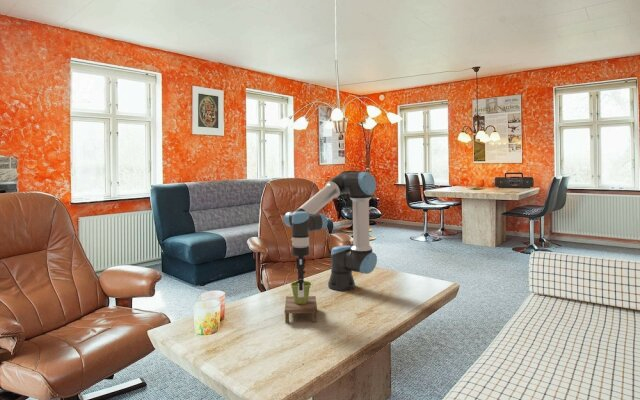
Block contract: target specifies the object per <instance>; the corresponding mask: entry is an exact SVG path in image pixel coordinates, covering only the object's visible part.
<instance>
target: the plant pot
mask: <svg viewBox="0 0 640 400" xmlns="http://www.w3.org/2000/svg"><path fill="white" fill-rule="evenodd" d="M311 285H312V282H311V281H308V280H307V281H306V280H304V297H298V283H296V281H293V282H291V283H290V286H291V290H292V295H293V296H294V302H295V303H296V304H306V303H307V302H308V296H310V295H309V294H310V288H311Z"/></svg>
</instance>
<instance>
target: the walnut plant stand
mask: <svg viewBox="0 0 640 400" xmlns="http://www.w3.org/2000/svg"><path fill="white" fill-rule="evenodd" d="M284 304H285V305H284V315H285V316H284V321H285V322H284V323H285V324H289V323H290V314H309V313H310V314H312V323H317V321H318V320H317V318H318V317H317V313H318V306H317V297H316V295H309V296H308V302H307V303H306V304H296V303H295V302H294V296H292V295H290V296H289V295H287V296H285V303H284Z"/></svg>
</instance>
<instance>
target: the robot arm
mask: <svg viewBox="0 0 640 400" xmlns="http://www.w3.org/2000/svg"><path fill="white" fill-rule="evenodd" d="M376 190H377V183H376V179H375V177H374V176H373V174H372V173H370V172H367V171H366V172H364V171H361V172H360V171H359V172H358V171H357V172H356V171H352V172H351V171H345V172H342V173H340V174H337V175H335V176H334V177H332V178H331V179H330V180H329V181H327V182H326V183H325V186H324V187H322V188H321V189H320V190H319V191H318V192H316V193H315V194H314V195H313V196H312V197H310V198H309V199H308V200H307V201H305V202H304V203H303V204H302V205H301V206H300V207H298V208H297V209H296V210H294V211H288V212H286V213H285V214H284V216H283V222H284V225H285V226H286V227H288V228H291V234H292V235H291V236H292V237H291V239H290V241H291V242H292V243H291V245H292V247H291V249H292V250H291V252H292V254H291V255H292V256H296V261H295V262H296V269H297V280H295V282H296V283H298V297H304V281H305V280H304V279H305V276H304V275H305V273H306V271H305V264H306V258H305V256H308V255H309V254H310V247H309V245H310V232H315V231H321V230H325V228H327V226H328V217H327V215H325V214H324V213H318V212H319V211H320V210H321V209H322V208H324V207H325V206H326V205H327V204H329V202H331V201H332V200H334V198H338V197H340V196H341V195H345V194H347V195H349V199H350V201H352V235H353V236H352V238H353V239H352V243H353V245H338V246H334V247H332V248H331V254H330V266H331V268H330V272H331V273H330V275H329V279H328V281H327V283H328V284H327V287H328V288H329V289H331V290H334V291H350V290H353V289H355V287H356V282H355V279H354V275H353V272H355V273H359V274H365V275H369V274H371V273H372V272H373V271H374V269H375V268H376V266H377V262H378V256H377V253H375V252H373V247H372V246H371V245H370V207H369V206H370V200H371V199H372V196H373V195H374V194H375V192H376Z"/></svg>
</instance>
